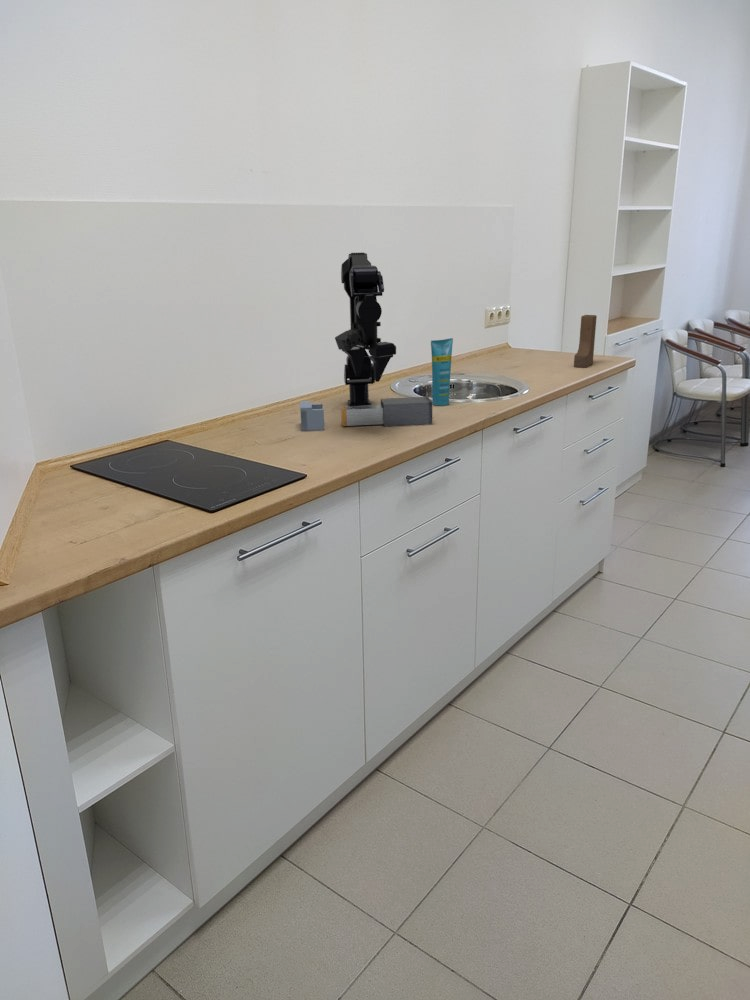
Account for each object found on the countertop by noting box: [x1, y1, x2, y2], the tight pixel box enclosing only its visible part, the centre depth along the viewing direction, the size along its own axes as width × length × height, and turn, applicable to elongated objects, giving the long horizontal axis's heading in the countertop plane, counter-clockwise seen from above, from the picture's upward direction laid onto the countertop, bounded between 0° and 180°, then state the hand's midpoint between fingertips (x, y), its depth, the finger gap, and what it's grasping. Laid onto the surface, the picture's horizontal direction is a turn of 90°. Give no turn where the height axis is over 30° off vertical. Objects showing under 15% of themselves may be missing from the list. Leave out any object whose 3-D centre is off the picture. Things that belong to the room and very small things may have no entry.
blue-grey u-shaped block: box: [299, 400, 325, 432], centre depth 196 cm, size 8×6×6 cm
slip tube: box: [340, 404, 384, 427], centre depth 198 cm, size 4×22×4 cm, turn 97°
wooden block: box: [573, 314, 598, 369], centre depth 270 cm, size 9×4×18 cm, turn 147°
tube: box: [430, 337, 454, 407], centre depth 216 cm, size 7×5×19 cm, turn 123°
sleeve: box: [380, 396, 433, 427], centre depth 199 cm, size 7×13×6 cm, turn 97°
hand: (367, 378), depth 193 cm, fingers open, 9 cm apart
